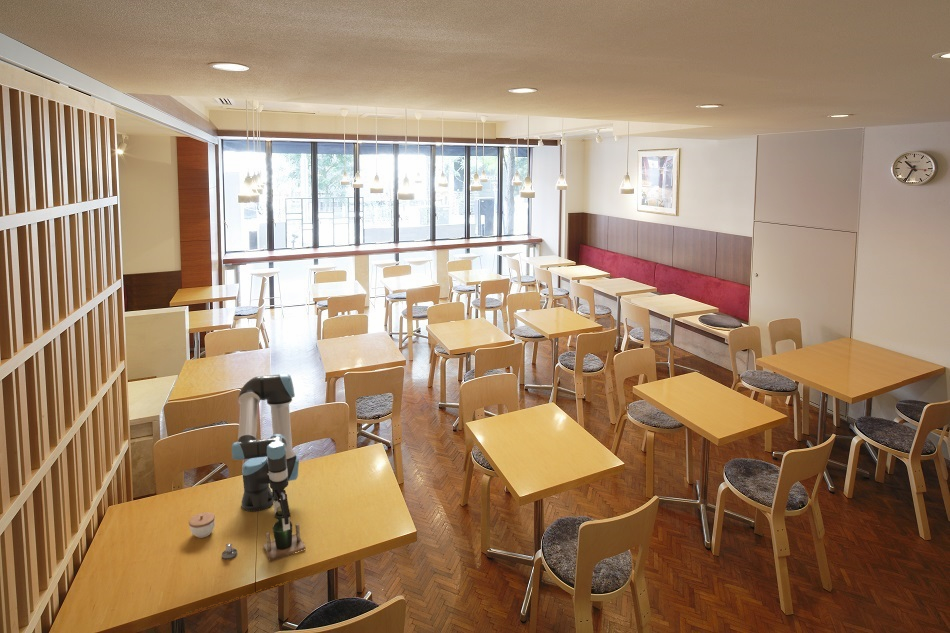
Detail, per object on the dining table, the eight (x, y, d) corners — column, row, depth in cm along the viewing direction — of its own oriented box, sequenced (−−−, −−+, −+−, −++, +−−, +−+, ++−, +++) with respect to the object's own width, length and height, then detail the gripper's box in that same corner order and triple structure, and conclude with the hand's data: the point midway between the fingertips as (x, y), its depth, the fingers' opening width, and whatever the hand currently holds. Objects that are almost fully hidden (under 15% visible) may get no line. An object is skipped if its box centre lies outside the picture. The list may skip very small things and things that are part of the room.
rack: (263, 547, 255) (261, 527, 253) (297, 536, 263) (296, 517, 261) (270, 561, 246) (268, 541, 243) (305, 549, 253) (304, 530, 251)
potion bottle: (278, 539, 258) (275, 503, 254) (296, 539, 258) (293, 503, 254) (271, 551, 250) (268, 513, 246) (290, 551, 250) (287, 513, 246)
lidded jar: (191, 543, 258) (188, 524, 256) (190, 530, 267) (187, 512, 265) (217, 536, 263) (215, 518, 261) (215, 524, 272) (213, 506, 270)
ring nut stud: (221, 553, 251) (219, 543, 250) (235, 549, 254) (234, 539, 253) (223, 561, 246) (222, 550, 245) (238, 556, 249) (237, 546, 248)
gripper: (262, 467, 255) (266, 510, 260) (277, 493, 234) (281, 539, 240) (279, 463, 259) (283, 505, 264) (296, 488, 238) (299, 533, 244)
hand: (282, 521), depth 252 cm, fingers open, 13 cm apart
